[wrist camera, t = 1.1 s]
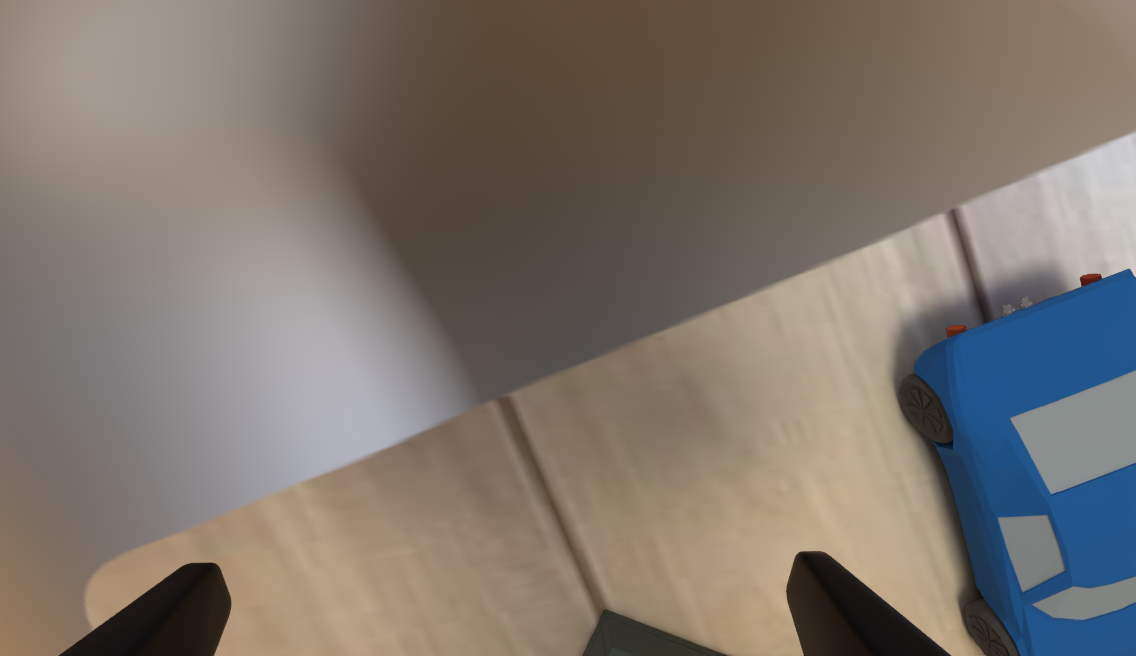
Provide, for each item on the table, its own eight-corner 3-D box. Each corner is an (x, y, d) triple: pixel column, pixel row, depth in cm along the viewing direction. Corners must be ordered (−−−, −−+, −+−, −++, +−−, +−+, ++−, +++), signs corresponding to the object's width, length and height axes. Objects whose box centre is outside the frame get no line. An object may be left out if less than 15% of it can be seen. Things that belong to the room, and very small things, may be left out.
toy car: (983, 699, 27) (1082, 798, 22) (874, 331, 24) (959, 349, 19) (1155, 633, 27) (1293, 718, 22) (1066, 257, 24) (1201, 256, 19)
